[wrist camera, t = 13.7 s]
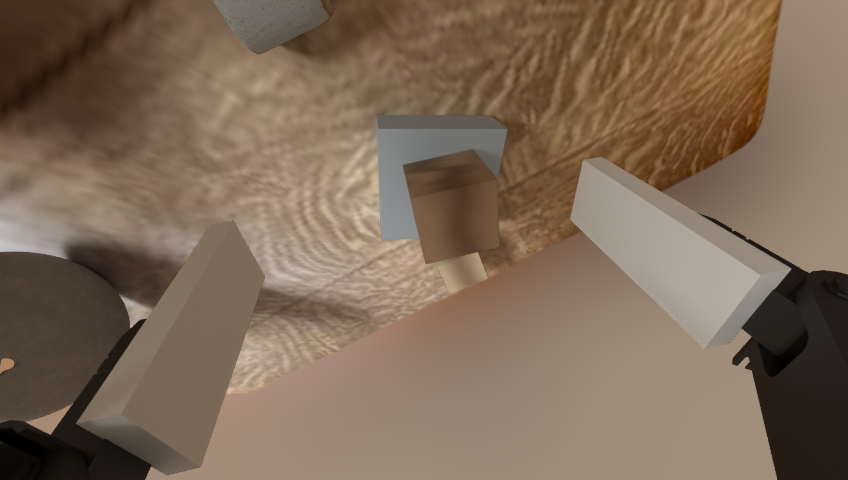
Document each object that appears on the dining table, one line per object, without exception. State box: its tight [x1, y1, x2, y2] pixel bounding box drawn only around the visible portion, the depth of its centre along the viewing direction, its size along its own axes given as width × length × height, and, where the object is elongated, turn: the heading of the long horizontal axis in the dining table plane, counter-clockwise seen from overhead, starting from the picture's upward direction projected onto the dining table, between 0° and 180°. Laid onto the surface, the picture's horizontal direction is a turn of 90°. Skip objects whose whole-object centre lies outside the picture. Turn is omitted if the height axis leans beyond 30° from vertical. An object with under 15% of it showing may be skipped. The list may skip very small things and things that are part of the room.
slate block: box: [376, 115, 508, 240], centre depth 39 cm, size 14×14×6 cm
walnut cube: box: [403, 149, 499, 264], centre depth 34 cm, size 8×8×8 cm
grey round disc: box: [0, 252, 130, 423], centre depth 35 cm, size 18×7×19 cm, turn 23°
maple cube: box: [436, 252, 488, 293], centre depth 48 cm, size 6×6×6 cm
